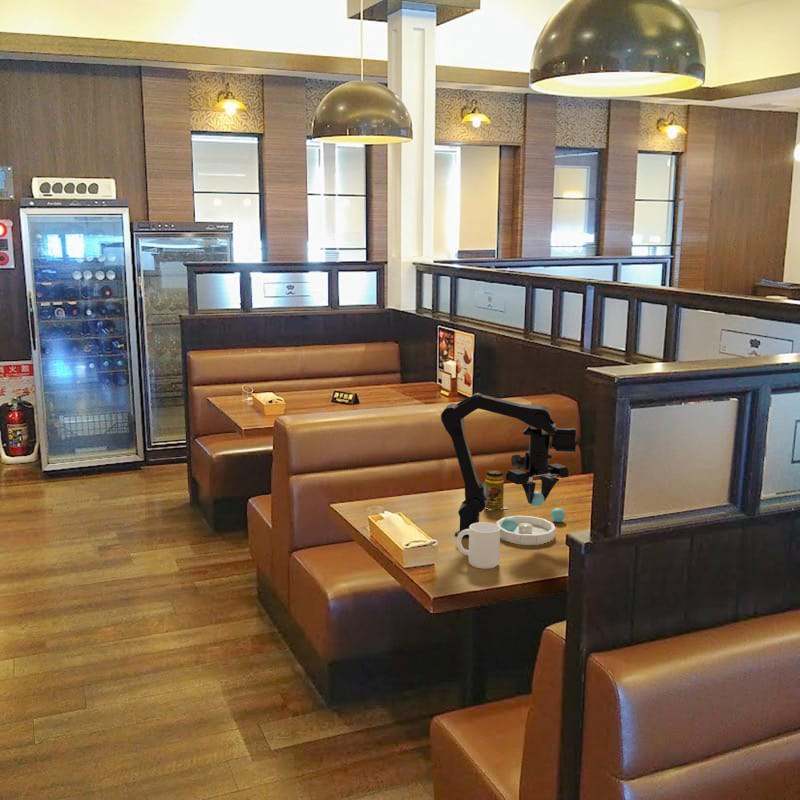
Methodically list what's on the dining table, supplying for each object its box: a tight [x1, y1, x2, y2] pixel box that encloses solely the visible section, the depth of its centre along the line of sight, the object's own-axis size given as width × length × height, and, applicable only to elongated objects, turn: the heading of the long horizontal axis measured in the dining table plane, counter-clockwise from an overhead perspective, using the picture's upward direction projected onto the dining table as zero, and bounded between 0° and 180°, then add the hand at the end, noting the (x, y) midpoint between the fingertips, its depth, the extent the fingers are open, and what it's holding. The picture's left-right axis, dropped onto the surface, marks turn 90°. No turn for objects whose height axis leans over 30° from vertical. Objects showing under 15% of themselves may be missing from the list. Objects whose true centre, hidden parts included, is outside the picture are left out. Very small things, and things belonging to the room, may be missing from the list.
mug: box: [456, 521, 501, 570], centre depth 228 cm, size 12×8×10 cm
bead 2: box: [530, 490, 545, 508], centre depth 244 cm, size 4×4×4 cm
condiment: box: [484, 469, 509, 512], centre depth 275 cm, size 7×8×12 cm
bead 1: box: [502, 516, 517, 532], centre depth 250 cm, size 4×4×4 cm
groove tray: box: [495, 515, 557, 546], centre depth 250 cm, size 17×17×3 cm
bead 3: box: [550, 507, 566, 523], centre depth 262 cm, size 4×4×4 cm
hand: (536, 502), depth 244 cm, fingers closed on bead 2, 4 cm apart
